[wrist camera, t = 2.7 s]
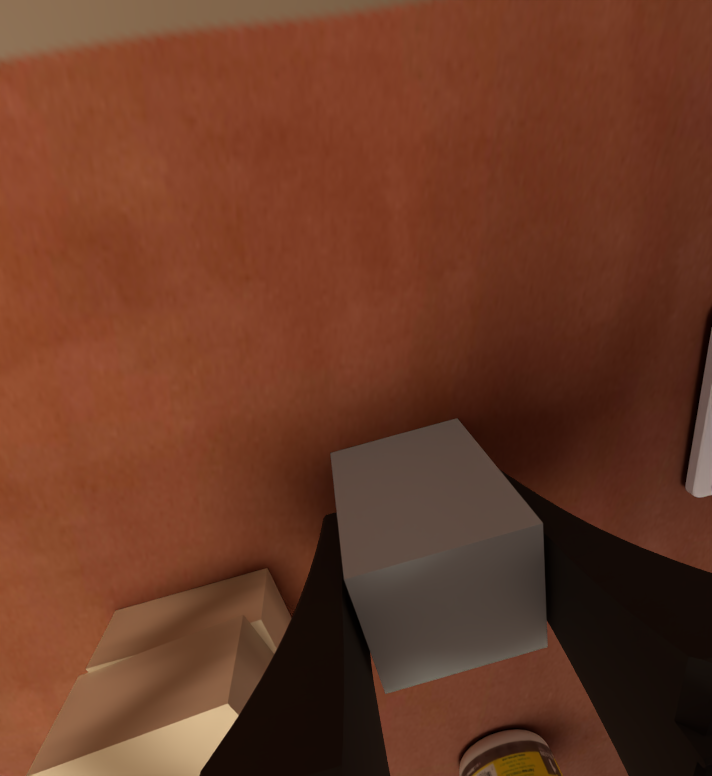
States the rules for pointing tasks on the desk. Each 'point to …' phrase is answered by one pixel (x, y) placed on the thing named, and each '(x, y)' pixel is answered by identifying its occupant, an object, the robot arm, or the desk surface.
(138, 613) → the bottom slab
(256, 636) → the top slab
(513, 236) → the desk surface
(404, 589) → the gray block
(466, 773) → the supplement bottle
